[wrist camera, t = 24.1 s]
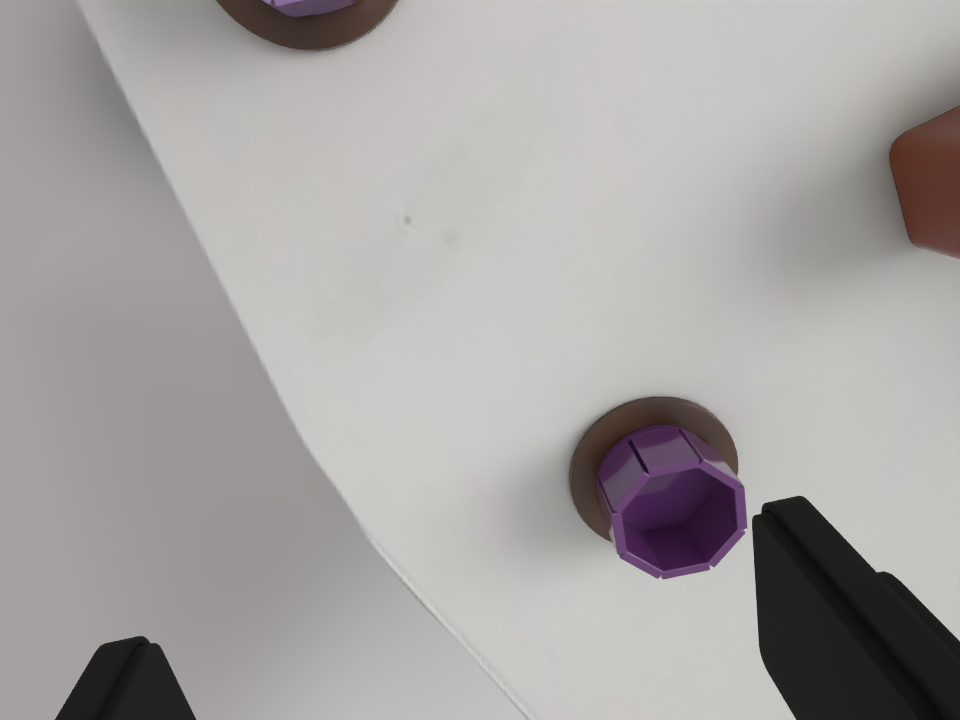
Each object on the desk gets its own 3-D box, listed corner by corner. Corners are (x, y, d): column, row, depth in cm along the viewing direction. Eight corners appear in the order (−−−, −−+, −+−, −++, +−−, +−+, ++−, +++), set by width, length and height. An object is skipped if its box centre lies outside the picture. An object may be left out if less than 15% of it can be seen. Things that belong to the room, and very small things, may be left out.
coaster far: (582, 556, 38) (584, 563, 38) (557, 415, 35) (558, 420, 35) (739, 524, 38) (743, 531, 38) (728, 380, 35) (732, 384, 34)
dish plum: (604, 539, 37) (622, 588, 34) (587, 438, 35) (605, 478, 31) (719, 516, 37) (750, 562, 33) (709, 413, 35) (742, 449, 31)
